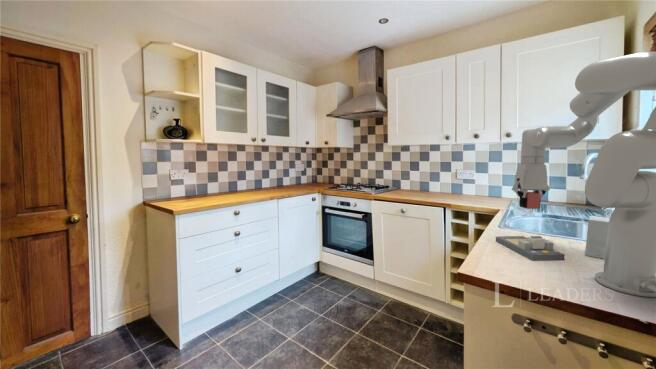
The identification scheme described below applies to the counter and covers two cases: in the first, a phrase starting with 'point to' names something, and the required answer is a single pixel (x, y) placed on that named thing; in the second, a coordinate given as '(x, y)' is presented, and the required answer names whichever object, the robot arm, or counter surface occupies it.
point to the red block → (533, 200)
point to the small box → (597, 236)
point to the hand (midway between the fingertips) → (529, 206)
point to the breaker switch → (536, 242)
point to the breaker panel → (530, 256)
